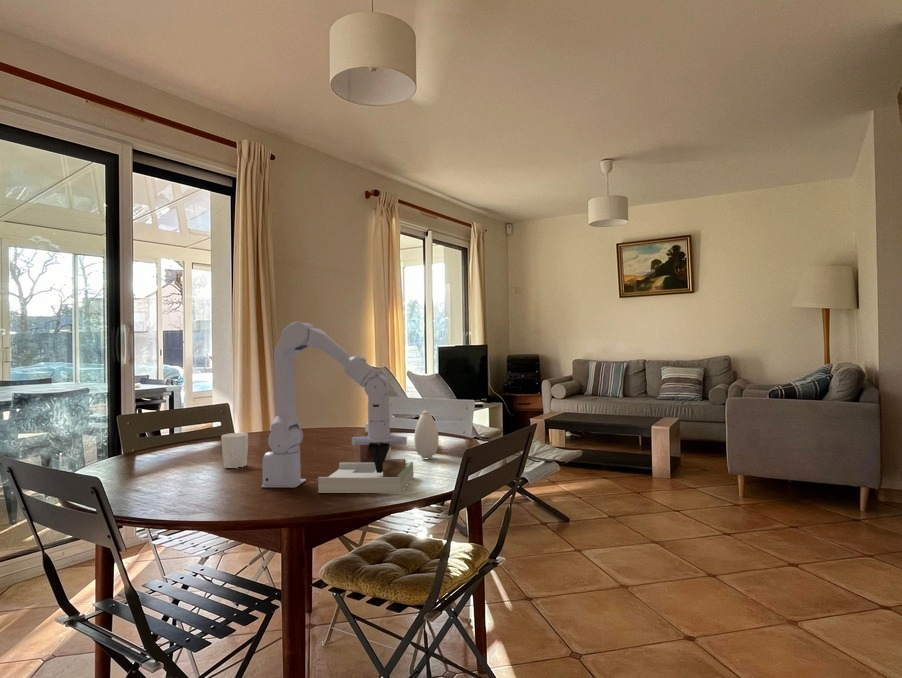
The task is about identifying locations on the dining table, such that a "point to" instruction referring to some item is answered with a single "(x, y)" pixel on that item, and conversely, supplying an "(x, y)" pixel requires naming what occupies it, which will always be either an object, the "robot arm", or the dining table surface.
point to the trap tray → (364, 480)
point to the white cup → (234, 449)
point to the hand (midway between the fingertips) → (379, 472)
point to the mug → (364, 451)
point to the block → (393, 467)
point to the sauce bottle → (426, 435)
